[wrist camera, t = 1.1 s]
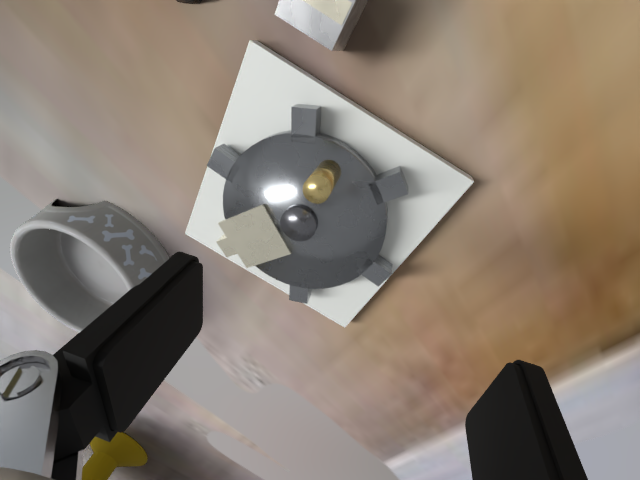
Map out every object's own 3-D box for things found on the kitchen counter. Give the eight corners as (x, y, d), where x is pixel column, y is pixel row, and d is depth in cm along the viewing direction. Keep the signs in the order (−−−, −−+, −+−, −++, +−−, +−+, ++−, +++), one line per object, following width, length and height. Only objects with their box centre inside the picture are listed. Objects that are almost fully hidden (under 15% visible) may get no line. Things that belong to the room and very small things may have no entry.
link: (374, -13, 21) (366, -25, 18) (343, 50, 23) (331, 50, 20) (321, -48, 21) (303, -67, 18) (294, 19, 23) (274, 14, 20)
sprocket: (456, 190, 25) (466, 223, 20) (344, 320, 34) (333, 363, 29) (250, 61, 24) (210, 64, 19) (191, 230, 33) (155, 260, 28)
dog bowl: (19, 195, 39) (-32, 215, 34) (152, 198, 34) (112, 221, 30) (82, 308, 47) (46, 336, 43) (195, 322, 43) (169, 355, 38)
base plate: (471, 176, 25) (474, 181, 24) (346, 319, 36) (344, 327, 35) (256, 40, 24) (249, 40, 23) (191, 228, 35) (184, 233, 34)
